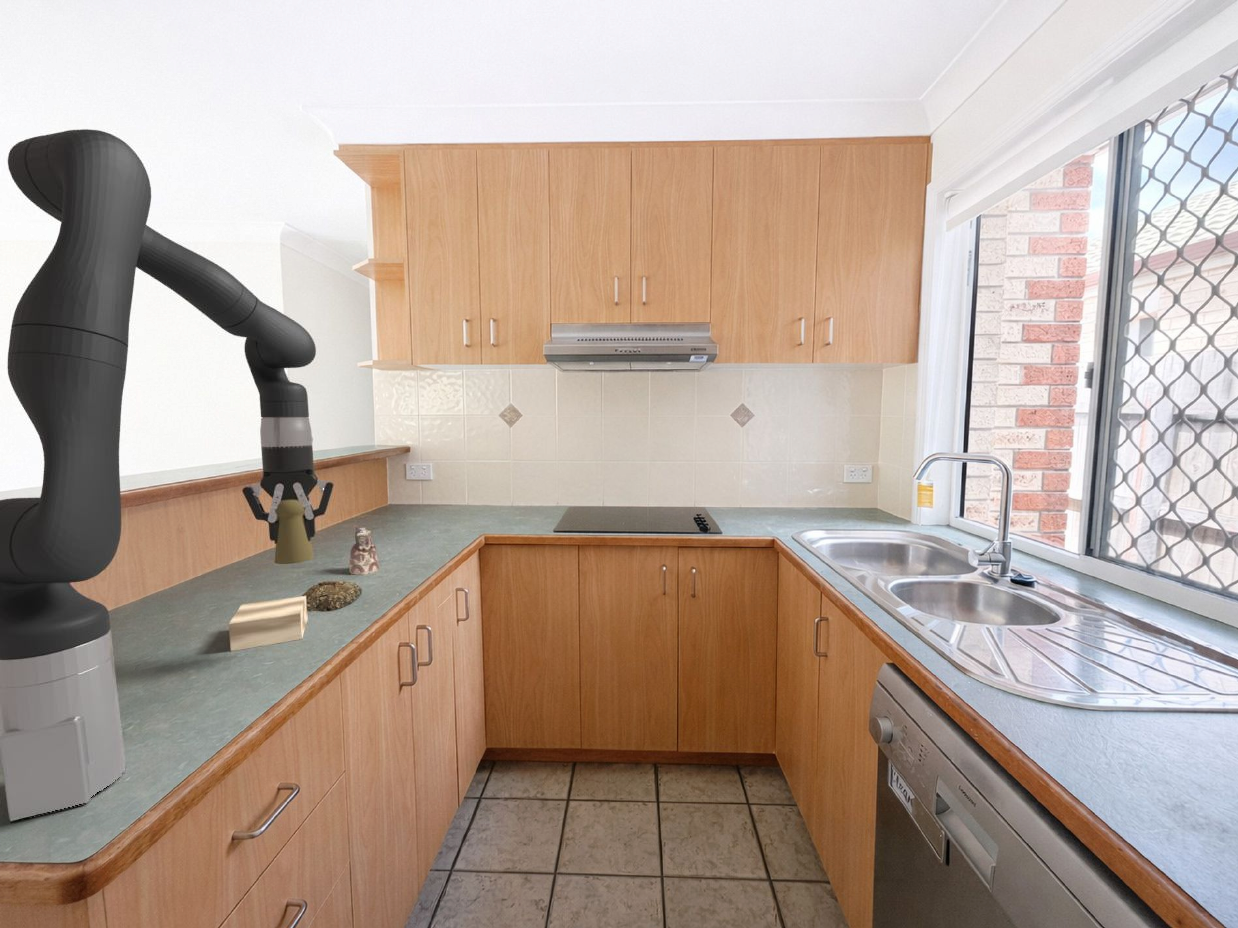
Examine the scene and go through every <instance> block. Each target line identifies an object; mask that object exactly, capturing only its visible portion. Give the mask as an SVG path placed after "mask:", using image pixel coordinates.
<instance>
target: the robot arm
mask: <svg viewBox="0 0 1238 928" xmlns="http://www.w3.org/2000/svg"><path fill="white" fill-rule="evenodd" d="M7 167H8V171H9V174H10V176H11V179H12V180H13V181H14V183H15V185H16V186H17V188H18V189H19V190H20V191H21V193H22V195H24V196H25V197H26V198H27V199H28V200H29V201H30V202H32V203H33V204H34V205H35V206H37V208H39V209H40V210H42V211H43V212H44V213H46V214H47V215H48V216H51V217H52V218H54V219H55V220H57V221H59V222H61V223H60V227H59V233H58V235H57V239H56V241H55V243H54V246H53V247H52V250H51V251H50V253H49V254H48V256H47V257H46V259H45V261H44V262H43V264H42V265H41V267H40V268H39V270H38V271H37V273H35V275H34V277H33V278H32V279H31V281H30V283H28V285H27V287H26V289H25V290H24V292H23V293H22V294H21V297H20V299H19V301H18V303H17V305H16V306H15V307H16V308H15V310H14V313H13V317H12V322H11V328H10V334H9V341H8V342H9V343H8V344H9V345H8V352H7V374H8V380H9V382H10V385H11V387H12V390H13V391H14V394H15V396H16V397H17V399H18V401H19V403H20V404H21V406H22V408H23V410H24V411H25V413H26V415H27V417H28V418H29V420H30V422H31V424H32V425H33V427H34V428H35V431H36V433H37V434H38V437H39V439H40V443H41V447H42V453H43V463H44V464H43V476H42V477H43V478H42V484H41V485H42V486H41V493H40V496H39V497H14V498H13V497H12V498H5V499H0V762H1V768H2V770H1V771H2V777H3V783H4V790H5V797H6V798H5V799H6V808H7V813H8V820H9V819H13V818H18V817H19V818H21V817H24V816H30V815H34V814H35V815H36V814H41V813H45V812H50V813H53V812H52V811H54V812H56V811H55V810H58V811H61V810H60V809H62V810H65V809H64V808H66V809H69V808H68V807H70V808H73V807H72V806H74V807H76V806H75V805H78V806H80V805H79V804H82V805H84V804H83V803H86V804H87V801H89V799H90V798H91V797H92V796H93V795H94V796H96V795H97V794H96V793H97V792H99V791H101V790H102V791H104V790H105V789H104V788H106V787H107V786H109V785H110V784H111V785H113V784H114V783H115V782H116V781H118V780H119V779H120V778H121V777H122V776H123V774H124V773H123V772H125V771H126V768H125V767H126V756H125V747H124V740H123V738H124V737H123V732H122V731H123V730H122V723H121V722H122V721H121V713H120V704H119V695H118V686H117V678H116V667H115V659H114V648H113V639H112V631H111V620H110V613H109V610H108V608H107V607H106V606H105V605H104V604H103V603H100V602H98V601H97V600H96V601H95V599H92V598H89V597H87V596H85V595H83V594H82V593H81V592H79V591H78V590H76V588H74V586H73V585H72V584H71V583H79V582H85V581H88V580H91V579H93V578H95V577H97V576H98V575H99V574H101V573H102V572H103V571H105V570H106V569H107V568H108V566H109V565H110V564H111V563H112V562H113V560H114V557H115V556H116V554H117V552H118V548H119V545H120V541H121V535H122V499H121V498H122V497H121V495H122V494H121V480H120V478H121V477H120V442H121V441H120V438H121V437H120V436H121V420H122V417H121V416H122V404H123V393H124V387H125V382H126V381H125V380H126V375H127V374H126V372H127V365H128V363H127V362H128V355H129V354H128V353H129V336H130V333H129V332H130V331H129V329H130V318H131V310H132V303H133V294H134V285H135V276H136V269H138V270H140V271H141V272H143V273H145V274H147V275H148V276H150V277H151V278H152V279H154V280H156V281H158V282H159V283H161V285H164V286H165V287H167V288H169V289H170V290H172V291H173V292H174V293H175V294H176V295H178V296H179V297H181V298H182V299H184V300H185V301H187V303H189V304H191V305H192V306H193V307H194V308H196V310H198V311H199V312H201V314H202V315H204V316H205V317H207V318H208V319H209V320H210V321H212V322H213V323H215V324H216V325H217V326H218V327H220V328H221V329H223V331H225V332H227V333H228V334H231V335H232V336H235V337H239V338H240V337H241V338H245V341H244V356H245V359H246V362H247V365H248V368H249V371H250V373H251V375H252V378H253V381H254V384H255V386H256V388H257V391H258V395H259V407H260V446H261V447H260V449H261V461H262V462H261V463H262V478H260V481H259V483H255V484H252V485H247V486H245V487H243V488H242V490H241V491H242V494H243V495H244V498H245V500H246V502H247V504H248V506H249V508H250V509H251V512H252V514H253V516H254V517H255V519H256V520H257V521H264V522H266V523H268V532H269V533H268V535H269V539H270V541H271V542H274V544H275V545H276V544H277V540H278V517H277V515H276V513H275V509H277V506H278V504H279V503H280V502H281V500H284V499H298V500H299V502H300V503H301V504H302V506H303V507H305V509H306V510H305V513H304V514H305V516H306V520H305V530H306V534H307V539H308V540H309V541H311V542H312V538H314V537H315V535H316V518H317V517H320V516H324V515H325V513H326V512H327V509H328V505H329V502H330V499H331V496H332V493H333V490H334V489H333V488H334V486H335V482H333V481H331V480H330V481H326V480H321V479H318V476H317V475H316V474H315V468H314V467H315V465H314V451H313V449H314V448H313V441H314V439H313V435H312V427H311V423H310V418H309V417H310V416H309V415H310V413H309V411H310V410H309V399H308V391H307V388H306V387H305V386H304V385H302V384H301V383H298V382H297V383H296V382H293V381H290V379H289V377H288V376H287V374H286V370H285V369H297V368H298V369H299V368H302V367H303V368H304V367H306V366H309V365H311V363H312V362H313V361H314V360H315V357H316V355H317V353H316V352H317V348H316V344H315V341H314V339H313V337H312V336H311V334H310V333H309V331H307V329H306V328H305V327H303V326H302V325H301V324H300V323H298V322H297V321H296V320H294V319H292V318H290V316H287V315H286V314H284V313H283V312H280V311H279V310H278V309H276V308H274V307H271V306H270V305H268V304H266V303H265V302H263V301H261V299H260V298H258V297H257V295H255V294H254V293H253V292H252V291H251V290H249V288H247V287H246V286H245V284H243V283H242V282H241V281H239V279H238V278H236V277H235V276H234V275H233V274H231V273H230V272H229V271H228V270H226V269H225V268H223V267H222V266H220V265H218V263H215V262H213V261H212V260H211V259H208V258H207V257H205V256H203V255H201V254H198V253H197V252H195V251H193V250H191V249H189V248H187V247H185V246H183V245H181V244H179V243H177V242H175V241H174V240H172V239H170V238H168V237H166V236H164V235H163V234H162V233H160V232H158V231H157V230H155V229H154V228H151V226H149V225H147V222H148V217H149V214H150V208H151V203H152V202H151V201H152V187H151V181H150V178H149V175H148V172H147V169H146V167H145V166H144V163H143V162H142V160H141V158H140V157H139V155H138V154H137V153H136V152H135V151H134V149H133V148H132V147H131V146H130V145H129V144H127V143H126V142H125V141H123V139H121V138H119V137H117V136H116V135H114V134H111V133H109V132H106V131H103V130H98V129H87V128H85V129H84V128H83V129H69V130H64V131H59V132H55V133H49V134H45V135H43V134H42V135H39V136H38V135H37V136H33V137H29V138H26V139H24V140H21V141H19V142H17V143H15V144H14V145H13V146H12V147H11V148H10V150H9V152H8V156H7ZM316 486H318V491H319V493H321V494H322V495H321V498H320V501H319V505H318V508H315V509H314V507H313V505H312V501H311V499H310V497H309V495H310V494H311V492H312V491H313V490H314V489H315V487H316ZM261 489H262V490H264V491H265V493H267V495H268V496H270V498H271V499H272V500H271V504H270V509H269V512H267V511H265V509H264V506H263V504H262V502H261V500H260V498H259V497H260V496H261V493H262V492H261ZM303 500H304V501H303ZM276 502H277V503H276ZM122 773H123V774H122ZM119 777H120V778H119ZM118 778H119V779H118ZM117 779H118V780H117ZM115 780H116V781H115ZM113 782H114V783H113ZM112 783H113V784H112ZM111 785H110V786H111ZM110 786H109V787H110ZM107 788H108V787H107ZM107 788H106V789H107ZM103 789H104V790H103ZM102 791H101V792H102ZM99 793H100V792H99ZM95 794H96V795H95ZM94 796H93V797H94ZM93 797H92V798H93ZM92 798H91V799H92ZM91 799H90V800H91ZM89 802H90V801H89Z"/></svg>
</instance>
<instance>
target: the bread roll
mask: <svg viewBox="0 0 1238 928" xmlns="http://www.w3.org/2000/svg"><path fill="white" fill-rule="evenodd" d="M362 592H363V589H362V587H361V586H360V585H359V584H357V583H356V582H352V581H347V580H345V579H343V580H327V581H321V582H318V583H317V584H314V585H312V586H311V587H310V588H308V589H307V590H306V591H305V592H304V593H303V594H301V596H306V602H307V612H319V611H320V612H330V611H331V612H332V611H338V610H339V609H342V608H345V607H346V606H348V605H350V604H351V603H353V602H355V601H356V600H357V599H358V598H359V597H360V596H361V595H362Z"/></svg>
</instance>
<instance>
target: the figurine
mask: <svg viewBox="0 0 1238 928" xmlns="http://www.w3.org/2000/svg"><path fill="white" fill-rule="evenodd" d="M355 529H356V530H355V538H354V540H355V543H354V544H353V545H352V547H351V549H350V552H349V565H348V567H349V568H348V570H349V574H350V573H351V574H350V575H352V574H355V575H356V576H358V575H359V576H360V575H361V576H364V575H363V574H365V575H369V574H368V573H370V574H373V573H375V571H376V572H378V571H379V570H380V566H379V560H378V553H377V546H376V545H375V544H374V543H373V542H372V541H373V540H372V535H371V534H372V531H371V530H370V529H368V527H367V528H366V527H360V526H359V525H358V526H356V527H355Z"/></svg>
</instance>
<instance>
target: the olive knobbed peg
mask: <svg viewBox="0 0 1238 928" xmlns="http://www.w3.org/2000/svg"><path fill="white" fill-rule="evenodd" d="M303 501H304V500H303ZM276 503H277V502H276ZM305 510H306V509H305V507H303V506H302V504H301V503H300V502H299V500H298V499H284V500H281V502H280V503H279V504H278V506H277V509H275V513H276V515H277V517H278V540H277V544H275V550H274V551H275V552H274V553H275V554H274V564H277V565H291V564H298V563H304V562H308V561H310V560H313V559H315V553H314V549H313V545H312V540H311V541H309V540H308V539H307V534H306V530H305V520H306V516H305V514H304V513H305Z"/></svg>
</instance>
